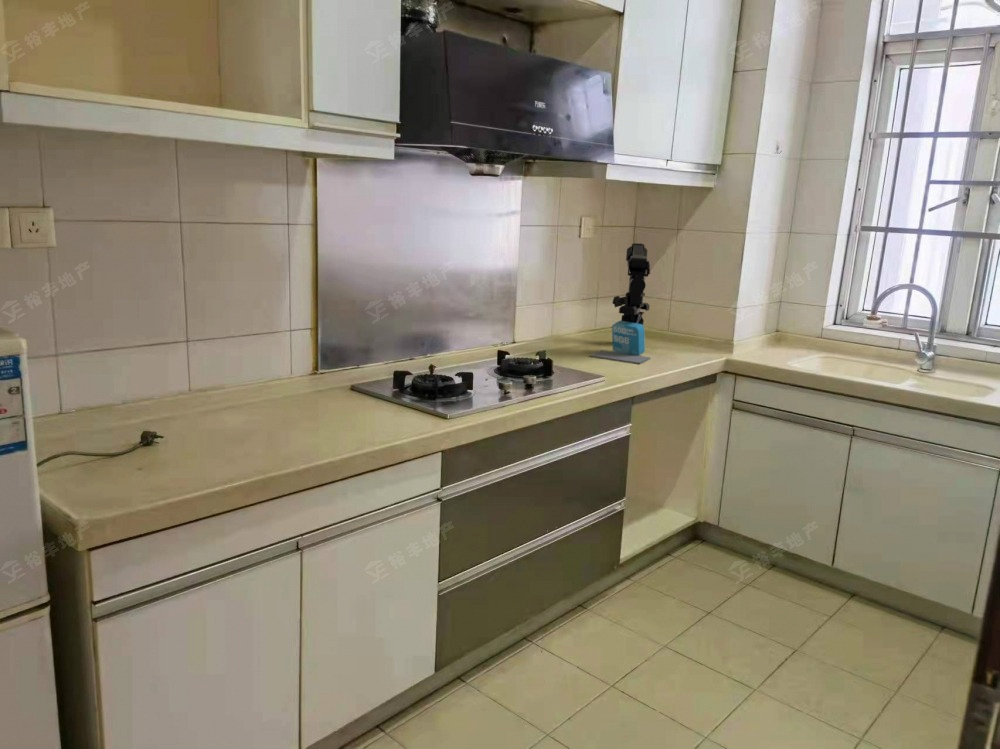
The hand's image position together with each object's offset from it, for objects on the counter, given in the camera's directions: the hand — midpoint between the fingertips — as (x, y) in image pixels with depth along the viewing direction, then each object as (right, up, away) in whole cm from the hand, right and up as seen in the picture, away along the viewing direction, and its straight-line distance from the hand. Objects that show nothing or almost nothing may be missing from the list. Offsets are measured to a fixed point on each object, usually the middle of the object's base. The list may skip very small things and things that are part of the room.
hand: (632, 330), depth 293 cm
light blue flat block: (-2, -9, 0) cm, 9 cm away
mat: (-6, -11, -8) cm, 15 cm away
